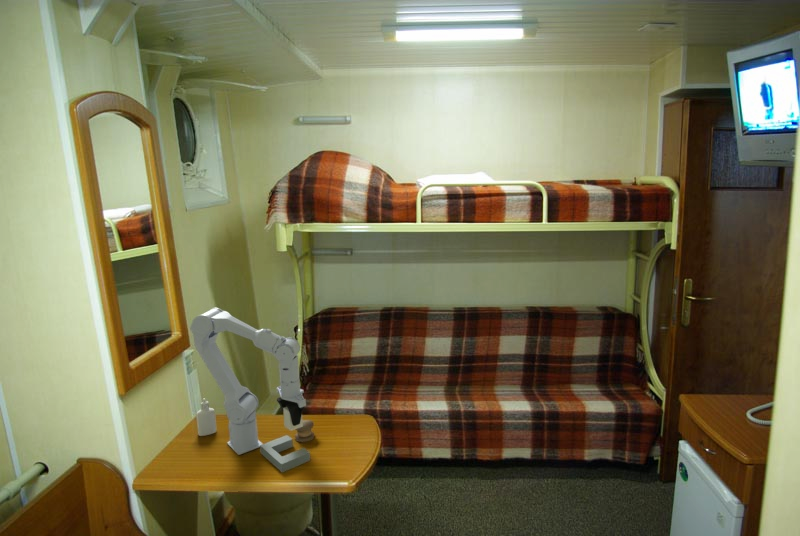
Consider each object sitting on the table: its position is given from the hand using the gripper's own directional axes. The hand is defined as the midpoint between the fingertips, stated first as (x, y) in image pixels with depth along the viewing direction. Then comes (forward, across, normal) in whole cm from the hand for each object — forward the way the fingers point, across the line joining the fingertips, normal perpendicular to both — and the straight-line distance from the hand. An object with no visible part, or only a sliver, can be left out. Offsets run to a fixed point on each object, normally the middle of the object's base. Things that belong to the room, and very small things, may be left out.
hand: (292, 422), depth 147 cm
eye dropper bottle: (+9, +28, +16) cm, 34 cm away
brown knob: (+8, +3, -6) cm, 11 cm away
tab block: (+2, 0, 0) cm, 2 cm away
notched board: (+8, -3, +5) cm, 10 cm away
